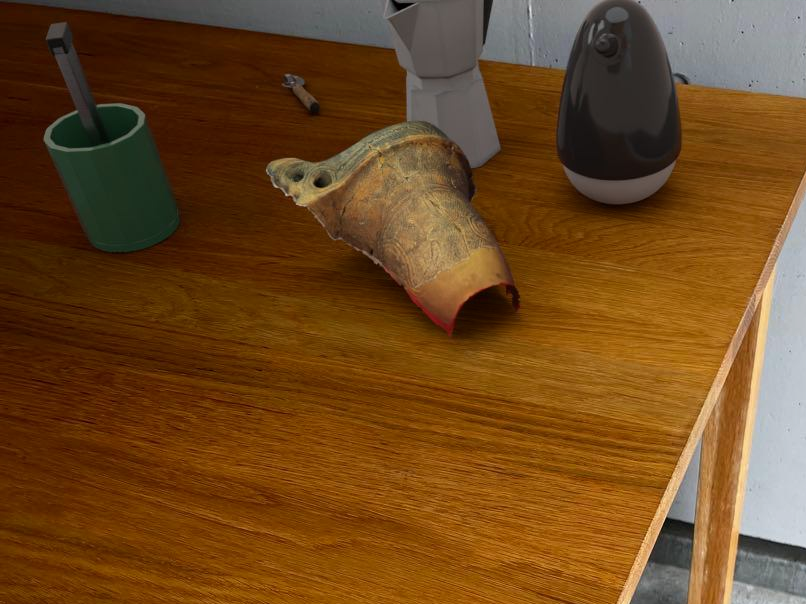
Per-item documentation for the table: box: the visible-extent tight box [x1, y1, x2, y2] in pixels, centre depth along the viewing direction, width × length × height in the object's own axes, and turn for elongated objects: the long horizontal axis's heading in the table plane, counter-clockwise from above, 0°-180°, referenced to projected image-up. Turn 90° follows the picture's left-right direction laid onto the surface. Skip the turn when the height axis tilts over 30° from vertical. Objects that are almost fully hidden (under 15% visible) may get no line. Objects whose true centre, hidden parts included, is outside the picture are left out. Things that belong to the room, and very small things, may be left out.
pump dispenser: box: [555, 0, 683, 205], centre depth 83 cm, size 10×10×15 cm
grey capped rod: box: [45, 21, 111, 147], centre depth 84 cm, size 1×3×16 cm, turn 10°
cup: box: [43, 102, 181, 254], centre depth 87 cm, size 8×8×9 cm
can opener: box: [281, 73, 321, 114], centre depth 104 cm, size 9×2×1 cm, turn 22°
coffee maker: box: [379, 0, 502, 169], centre depth 89 cm, size 15×9×18 cm, turn 148°
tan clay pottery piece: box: [265, 121, 522, 338], centre depth 79 cm, size 17×11×18 cm
